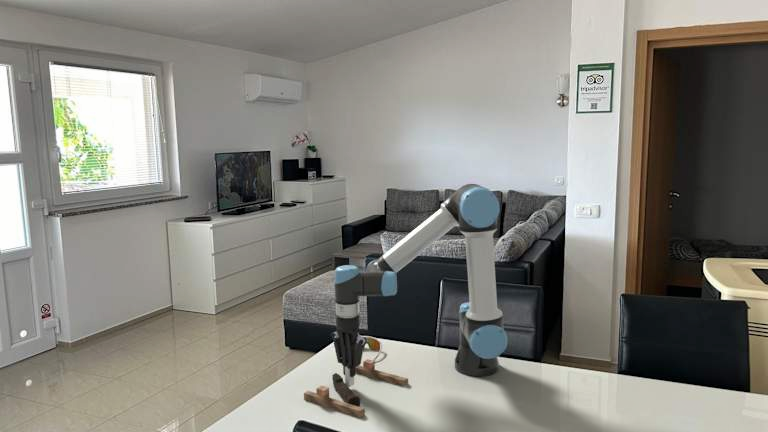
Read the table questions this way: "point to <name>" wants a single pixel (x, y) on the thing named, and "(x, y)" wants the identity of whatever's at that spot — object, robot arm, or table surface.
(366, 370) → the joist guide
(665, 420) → the table surface
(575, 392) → the table surface
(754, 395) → the table surface
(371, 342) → the sunglasses
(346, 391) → the dark brown wooden log
